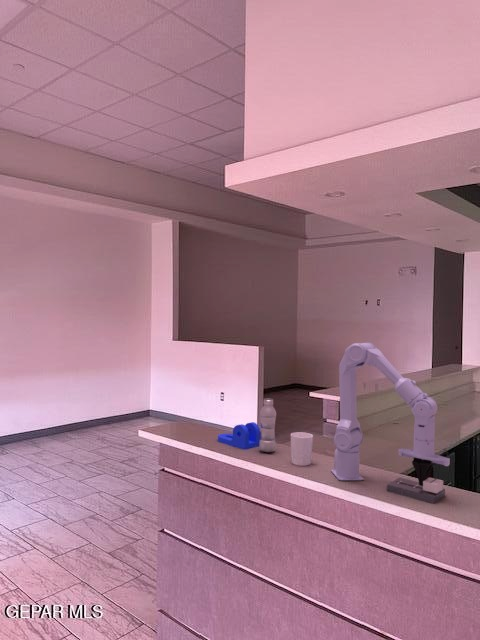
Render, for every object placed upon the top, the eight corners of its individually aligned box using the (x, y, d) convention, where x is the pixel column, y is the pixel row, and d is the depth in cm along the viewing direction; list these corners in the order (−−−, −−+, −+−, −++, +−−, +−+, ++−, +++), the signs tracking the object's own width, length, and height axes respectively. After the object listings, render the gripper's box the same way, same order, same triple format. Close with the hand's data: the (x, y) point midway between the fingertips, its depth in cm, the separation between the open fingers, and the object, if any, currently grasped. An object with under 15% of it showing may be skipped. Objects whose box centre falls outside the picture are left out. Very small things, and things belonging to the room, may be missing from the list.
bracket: (259, 446, 194) (260, 423, 194) (244, 450, 188) (245, 426, 188) (228, 437, 207) (228, 416, 207) (213, 440, 201) (214, 418, 201)
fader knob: (422, 489, 142) (423, 481, 142) (429, 485, 146) (429, 477, 146) (436, 493, 140) (437, 484, 140) (442, 489, 144) (443, 480, 143)
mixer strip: (386, 490, 148) (386, 484, 148) (399, 483, 154) (399, 477, 154) (433, 503, 138) (434, 496, 138) (444, 495, 145) (445, 488, 145)
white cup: (285, 461, 175) (286, 433, 175) (303, 458, 179) (304, 431, 179) (298, 467, 168) (298, 438, 168) (316, 464, 172) (317, 436, 172)
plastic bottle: (275, 449, 189) (277, 398, 189) (275, 454, 183) (276, 401, 182) (259, 448, 190) (260, 397, 190) (257, 453, 183) (259, 400, 183)
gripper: (453, 441, 143) (452, 487, 143) (405, 432, 153) (404, 475, 153) (445, 445, 138) (444, 493, 138) (396, 436, 147) (394, 481, 147)
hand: (422, 484), depth 145 cm, fingers closed
